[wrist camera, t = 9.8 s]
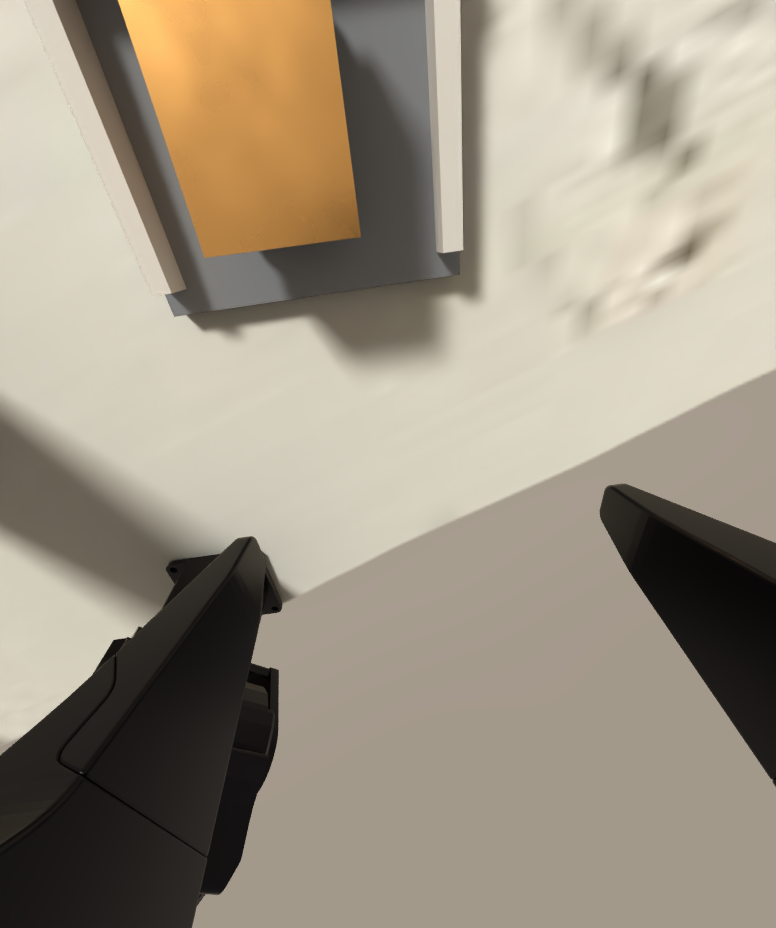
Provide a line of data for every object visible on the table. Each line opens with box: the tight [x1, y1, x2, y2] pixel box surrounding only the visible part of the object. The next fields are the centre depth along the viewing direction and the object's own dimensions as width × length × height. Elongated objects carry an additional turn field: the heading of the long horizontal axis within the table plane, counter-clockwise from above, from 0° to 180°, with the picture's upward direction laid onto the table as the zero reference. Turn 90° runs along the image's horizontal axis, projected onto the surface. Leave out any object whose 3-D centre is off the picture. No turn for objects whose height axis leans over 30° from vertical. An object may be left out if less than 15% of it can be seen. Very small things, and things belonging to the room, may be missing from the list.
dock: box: [23, 0, 463, 317], centre depth 13 cm, size 11×13×3 cm
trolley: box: [118, 0, 361, 258], centre depth 11 cm, size 7×5×5 cm
